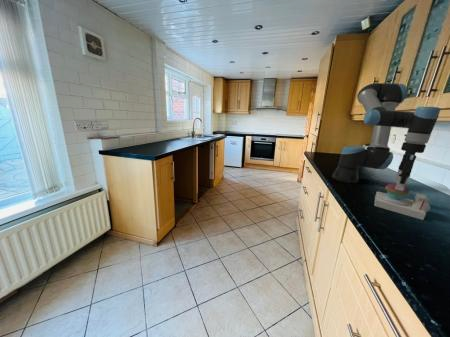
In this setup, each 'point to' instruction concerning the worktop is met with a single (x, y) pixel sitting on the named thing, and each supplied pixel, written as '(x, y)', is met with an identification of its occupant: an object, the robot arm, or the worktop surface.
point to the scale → (404, 205)
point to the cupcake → (396, 192)
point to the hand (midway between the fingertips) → (397, 186)
